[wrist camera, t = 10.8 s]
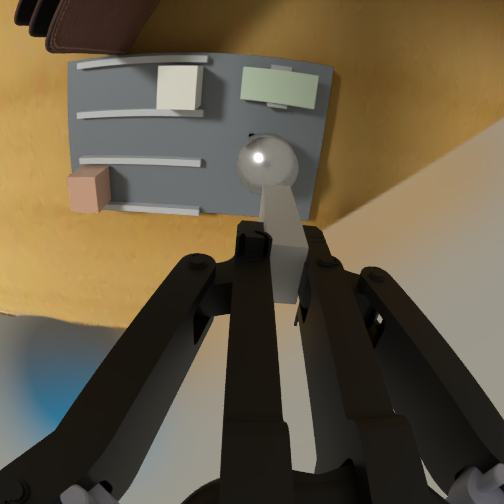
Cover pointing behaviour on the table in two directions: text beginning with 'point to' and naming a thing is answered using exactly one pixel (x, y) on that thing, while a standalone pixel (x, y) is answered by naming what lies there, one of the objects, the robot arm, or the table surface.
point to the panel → (194, 128)
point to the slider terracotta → (89, 189)
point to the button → (266, 162)
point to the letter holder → (85, 23)
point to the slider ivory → (179, 87)
